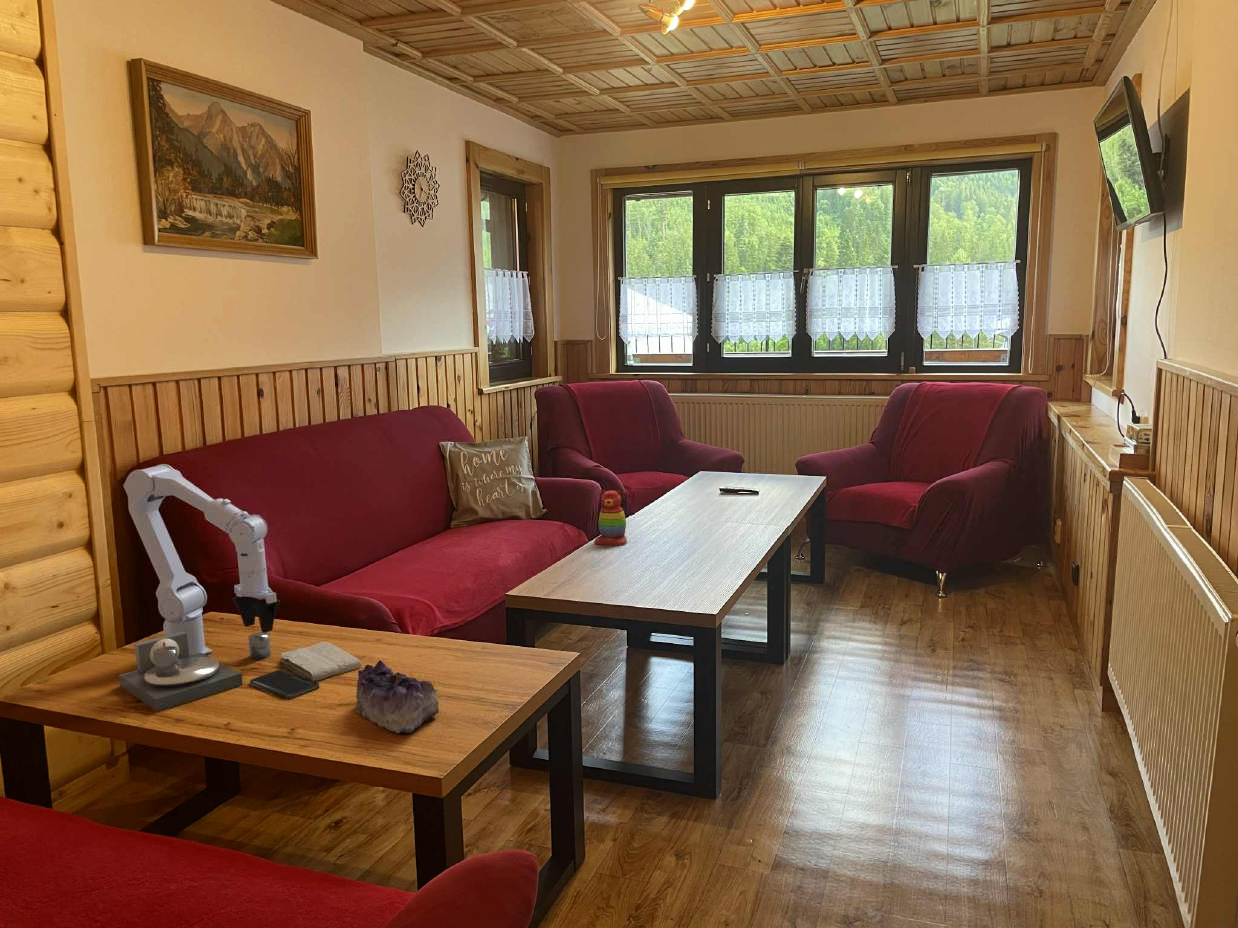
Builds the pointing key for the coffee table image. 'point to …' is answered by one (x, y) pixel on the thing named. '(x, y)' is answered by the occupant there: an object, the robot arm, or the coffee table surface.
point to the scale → (175, 694)
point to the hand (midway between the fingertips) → (258, 628)
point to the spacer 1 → (166, 661)
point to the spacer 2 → (259, 646)
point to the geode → (394, 699)
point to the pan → (185, 672)
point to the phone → (284, 684)
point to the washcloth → (319, 661)
